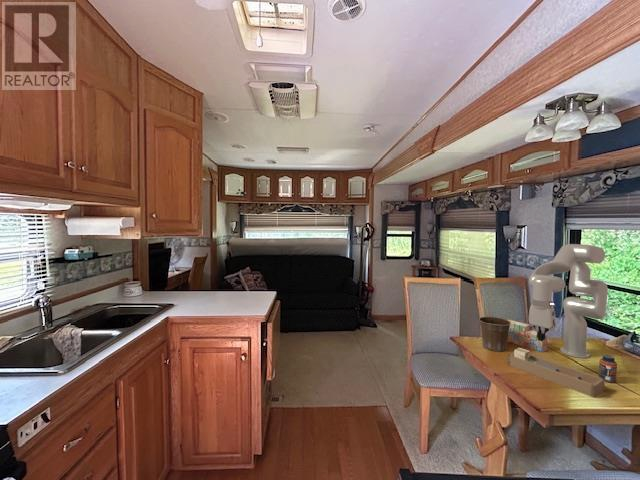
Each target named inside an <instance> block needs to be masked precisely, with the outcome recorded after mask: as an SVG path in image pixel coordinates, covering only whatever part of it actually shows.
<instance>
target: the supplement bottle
mask: <svg viewBox="0 0 640 480" xmlns="http://www.w3.org/2000/svg"><path fill="white" fill-rule="evenodd" d="M615 358H616V357H614V356H612V355H610V354H602V357H601V358H600V359H599V365H598V366H599V367H598V377H600V378H603V379H605V382H606V383H611V384H613V383H616V382H617V372H618V363H617V362H616V361H615Z"/></svg>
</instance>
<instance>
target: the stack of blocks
mask: <svg viewBox="0 0 640 480" xmlns="http://www.w3.org/2000/svg"><path fill="white" fill-rule="evenodd" d="M507 320H508V321H510V322H511V324H510V327H509V330H508V338H507V343H510V344H515V345H517V346H521V347H525V348H527V349H529V350H534V351H537V352H539V353H544V352H546V351H547V350H548V334H547V333H546V336H545V340H543V341H540V340H538V338H537V332H536V330H533V329H531V326H530V325H529V323H525V322H521V321H520V322H519V321H516V320H513V319H507Z"/></svg>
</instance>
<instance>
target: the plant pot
mask: <svg viewBox="0 0 640 480" xmlns="http://www.w3.org/2000/svg"><path fill="white" fill-rule="evenodd" d="M508 320H509V319H505V318H501V317H498V316H497V317H494V316H481V317H479V318H478V321H479V326H480V330H481V331H480V332H481V342H482V347H483V348H485V349H486V350H492V351H493V352H505V351H506V350H507V346H508V341H507V338H508V330H509V327H510V324H511V322H510V321H508Z"/></svg>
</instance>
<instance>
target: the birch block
mask: <svg viewBox="0 0 640 480" xmlns="http://www.w3.org/2000/svg"><path fill="white" fill-rule="evenodd" d="M513 353H514V356H515V357H518V358H521V359H524V360H526V361H530V354H531V351H530V350H528V349H524V348H521V347H517V348H516V349H514V351H513Z"/></svg>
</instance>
